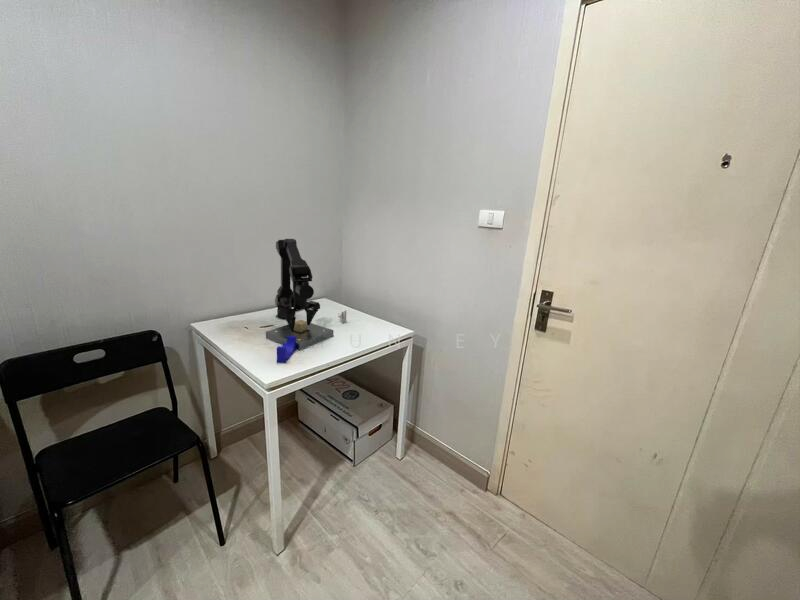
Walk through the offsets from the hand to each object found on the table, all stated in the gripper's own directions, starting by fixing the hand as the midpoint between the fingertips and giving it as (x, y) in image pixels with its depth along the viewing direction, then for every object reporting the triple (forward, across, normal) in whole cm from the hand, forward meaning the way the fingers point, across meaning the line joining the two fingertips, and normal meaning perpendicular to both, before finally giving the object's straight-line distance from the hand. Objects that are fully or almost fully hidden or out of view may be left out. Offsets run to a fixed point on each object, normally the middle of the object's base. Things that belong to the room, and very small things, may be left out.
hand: (300, 327), depth 143 cm
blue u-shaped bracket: (+5, +16, +9) cm, 19 cm away
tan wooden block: (+4, 0, 0) cm, 4 cm away
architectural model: (+5, -22, -2) cm, 23 cm away
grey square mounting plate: (+4, 0, 0) cm, 4 cm away
